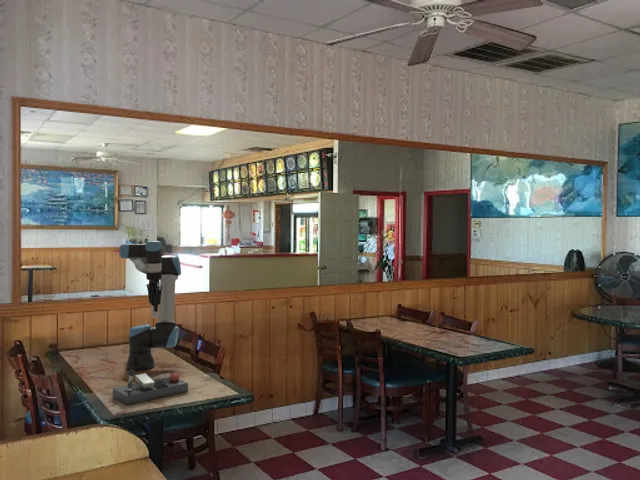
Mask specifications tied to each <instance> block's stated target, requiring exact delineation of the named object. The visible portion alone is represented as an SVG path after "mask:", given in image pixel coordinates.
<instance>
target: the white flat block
mask: <svg viewBox="0 0 640 480" xmlns="http://www.w3.org/2000/svg"><path fill="white" fill-rule="evenodd" d="M151 378H152V377H150V376H149V375H148V374H147V373H145V372H144V373H139V374H135V375H134V379H135V380H136V382H137V383H140V384H141V385H142V386H143V387H144V388H146V387H151V386H154V384H155V382H154V381H153V380H152V379H151Z"/></svg>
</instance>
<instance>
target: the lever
mask: <svg viewBox="0 0 640 480" xmlns="http://www.w3.org/2000/svg"><path fill="white" fill-rule="evenodd" d="M135 375H136V370H128V381H127V385H128V386H127V388H128V389H130V388H131V387H132V384H133V380H134V377H135Z"/></svg>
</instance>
